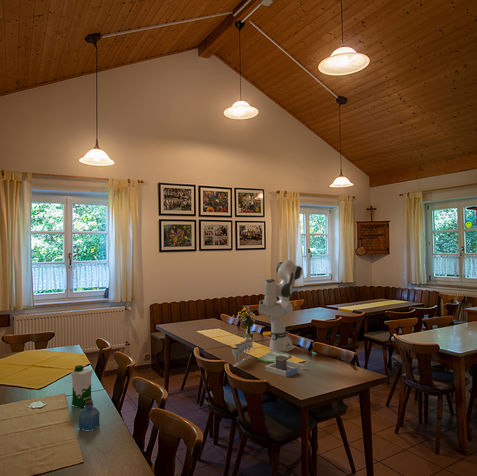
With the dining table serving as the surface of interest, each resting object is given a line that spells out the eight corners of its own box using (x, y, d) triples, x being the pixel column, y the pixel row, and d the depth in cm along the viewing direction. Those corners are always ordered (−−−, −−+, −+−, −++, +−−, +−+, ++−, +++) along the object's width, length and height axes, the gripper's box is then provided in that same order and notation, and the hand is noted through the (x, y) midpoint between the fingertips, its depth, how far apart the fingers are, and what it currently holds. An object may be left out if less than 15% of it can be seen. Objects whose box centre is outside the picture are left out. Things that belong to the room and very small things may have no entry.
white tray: (284, 363, 265) (284, 358, 265) (306, 369, 251) (306, 364, 251) (264, 370, 250) (264, 365, 251) (287, 377, 237) (287, 371, 237)
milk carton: (81, 400, 204) (82, 363, 204) (94, 403, 200) (94, 365, 201) (69, 406, 196) (69, 368, 196) (82, 409, 192) (82, 370, 193)
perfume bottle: (78, 429, 171) (79, 403, 171) (88, 423, 177) (88, 398, 177) (89, 432, 169) (89, 405, 169) (99, 425, 174) (99, 399, 175)
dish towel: (291, 357, 282) (291, 352, 282) (277, 365, 263) (277, 360, 263) (271, 354, 291) (271, 349, 291) (256, 361, 272) (256, 356, 272)
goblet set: (237, 367, 259) (237, 347, 259) (230, 366, 261) (230, 346, 262) (253, 356, 284) (253, 338, 284) (247, 355, 286) (246, 338, 287)
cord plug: (280, 370, 251) (280, 355, 251) (286, 371, 248) (286, 356, 248) (275, 371, 248) (275, 356, 248) (281, 373, 244) (281, 358, 244)
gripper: (284, 303, 264) (285, 322, 264) (263, 300, 279) (263, 319, 278) (279, 304, 260) (279, 324, 259) (257, 301, 274) (257, 320, 274)
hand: (270, 321), depth 269 cm, fingers closed
